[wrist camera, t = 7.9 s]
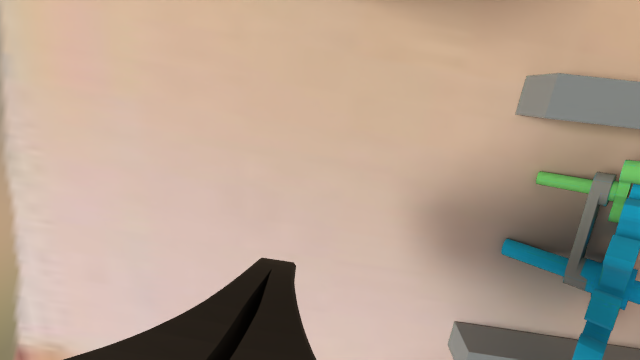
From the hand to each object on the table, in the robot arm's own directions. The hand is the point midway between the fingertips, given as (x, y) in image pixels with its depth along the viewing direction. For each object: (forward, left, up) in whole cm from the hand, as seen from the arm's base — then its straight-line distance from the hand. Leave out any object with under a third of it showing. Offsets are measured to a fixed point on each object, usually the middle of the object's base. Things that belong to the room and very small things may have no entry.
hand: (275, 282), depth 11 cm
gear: (0, -16, -8) cm, 18 cm away
